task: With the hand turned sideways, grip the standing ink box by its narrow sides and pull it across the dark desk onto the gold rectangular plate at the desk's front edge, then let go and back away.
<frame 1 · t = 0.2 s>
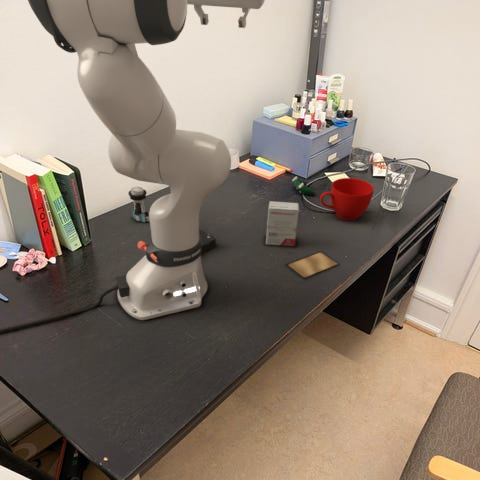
hand: (223, 25, 106), 52 cm above the table, tool tilted 20°, fingers open, 8 cm apart
ceramic cup: (341, 216, 145), on the table
disk drive: (186, 243, 130), on the table
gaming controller: (301, 191, 158), on the table
ink box: (280, 242, 132), on the table
gold rectangular plate: (312, 265, 123), on the table
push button: (142, 220, 139), on the table
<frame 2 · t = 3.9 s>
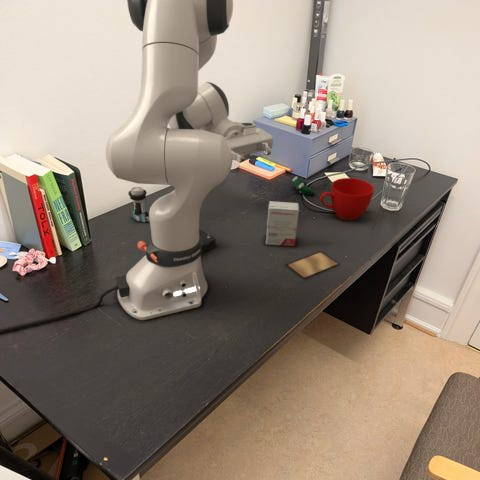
hand: (255, 155, 126), 21 cm above the table, tool horizontal, fingers open, 8 cm apart
nothing on the table moved.
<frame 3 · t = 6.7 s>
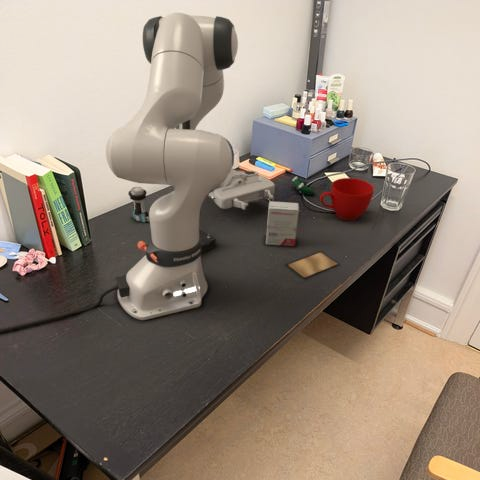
hand: (259, 203, 133), 8 cm above the table, tool horizontal, fingers open, 8 cm apart
nothing on the table moved.
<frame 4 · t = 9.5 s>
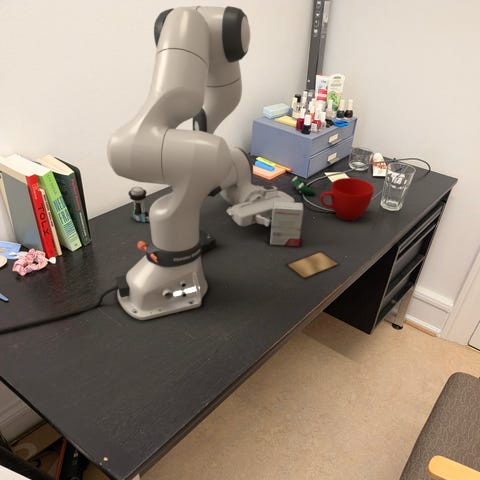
hand: (279, 220, 128), 6 cm above the table, tool horizontal, fingers closed on ink box, 6 cm apart
ink box: (284, 242, 132), on the table, touching gripper
everything else where it was.
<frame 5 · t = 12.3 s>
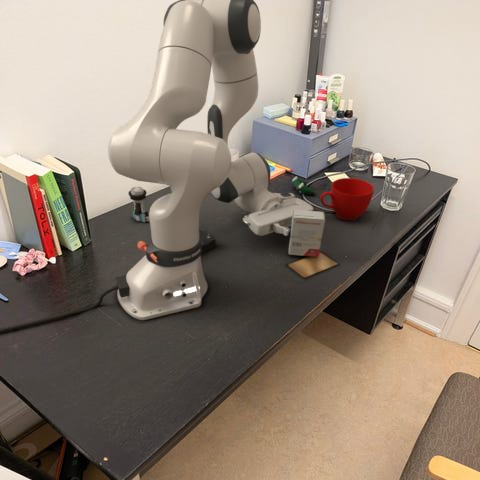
hand: (298, 229, 122), 8 cm above the table, tool horizontal, fingers closed on ink box, 5 cm apart
ink box: (303, 252, 126), point 1 cm above the table, touching gripper
everything else where it was.
when the fingers open (7 cm above the table, at t = 15.3 s): ink box stays where it is, resting on gold rectangular plate.
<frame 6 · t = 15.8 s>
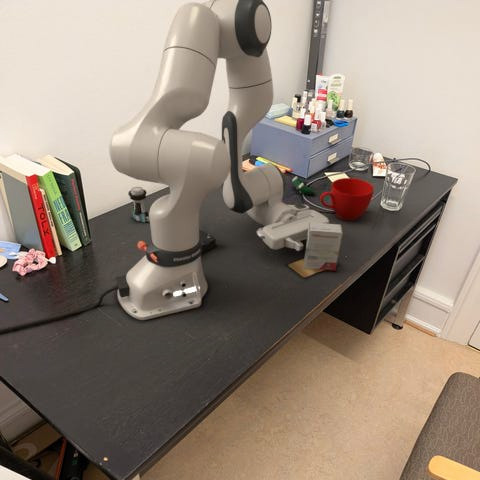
hand: (314, 243, 119), 7 cm above the table, tool horizontal, fingers open, 8 cm apart
ink box: (319, 265, 122), resting on gold rectangular plate
everything else where it was.
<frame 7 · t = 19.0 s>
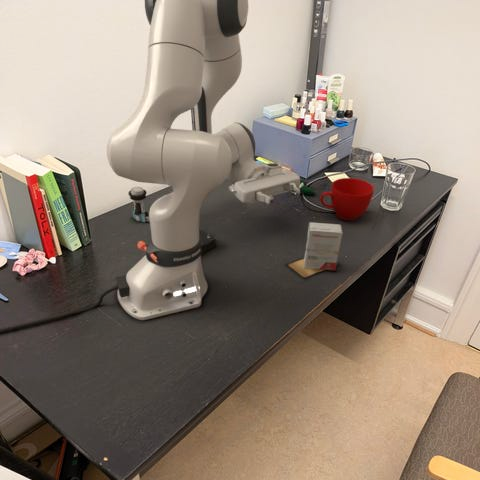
hand: (284, 196, 122), 14 cm above the table, tool horizontal, fingers open, 8 cm apart
nothing on the table moved.
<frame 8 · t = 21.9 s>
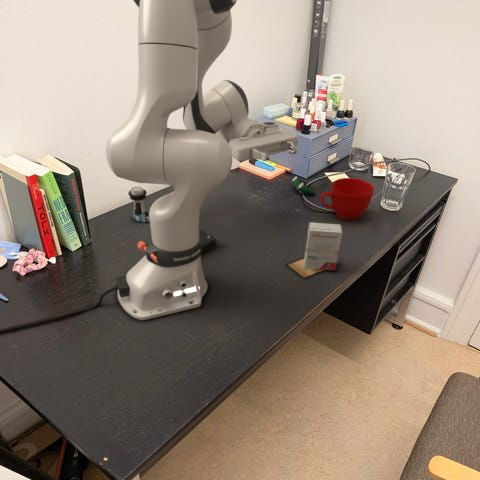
hand: (281, 154, 117), 25 cm above the table, tool horizontal, fingers open, 8 cm apart
nothing on the table moved.
at the end: ink box inside the target area (1.5 cm from its centre), resting on gold rectangular plate; ink box tilted 0°; the gripper is holding nothing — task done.
